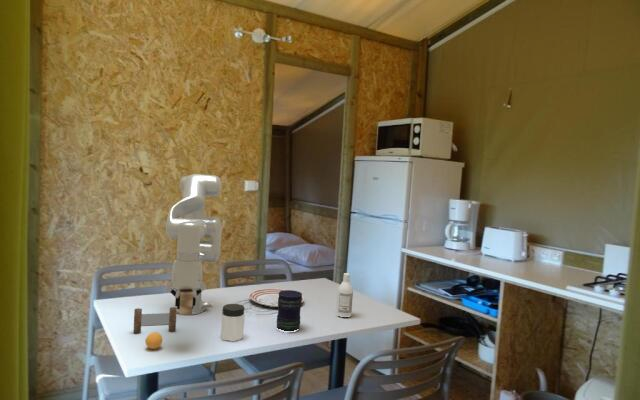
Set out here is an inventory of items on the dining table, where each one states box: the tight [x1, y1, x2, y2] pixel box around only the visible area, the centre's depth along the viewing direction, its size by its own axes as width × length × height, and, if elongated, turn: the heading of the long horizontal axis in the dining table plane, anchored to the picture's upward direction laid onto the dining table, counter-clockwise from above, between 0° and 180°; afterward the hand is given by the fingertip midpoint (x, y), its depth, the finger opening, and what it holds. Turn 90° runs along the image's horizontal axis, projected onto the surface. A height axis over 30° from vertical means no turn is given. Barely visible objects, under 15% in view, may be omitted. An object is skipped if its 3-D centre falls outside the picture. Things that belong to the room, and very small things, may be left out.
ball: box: [145, 332, 163, 350], centre depth 154 cm, size 6×6×6 cm
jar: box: [220, 303, 245, 342], centre depth 169 cm, size 9×8×12 cm
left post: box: [133, 307, 143, 335], centre depth 167 cm, size 3×3×9 cm
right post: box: [168, 306, 178, 333], centre depth 171 cm, size 3×3×9 cm
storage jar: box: [276, 289, 303, 331], centre depth 182 cm, size 10×10×15 cm
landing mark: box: [141, 312, 170, 327], centre depth 182 cm, size 14×14×1 cm
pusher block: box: [179, 289, 193, 316], centre depth 155 cm, size 4×10×7 cm, turn 20°
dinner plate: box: [248, 288, 305, 308], centre depth 219 cm, size 27×27×3 cm
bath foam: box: [335, 272, 354, 316], centre depth 204 cm, size 7×7×20 cm
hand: (185, 307), depth 156 cm, fingers closed on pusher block, 4 cm apart
